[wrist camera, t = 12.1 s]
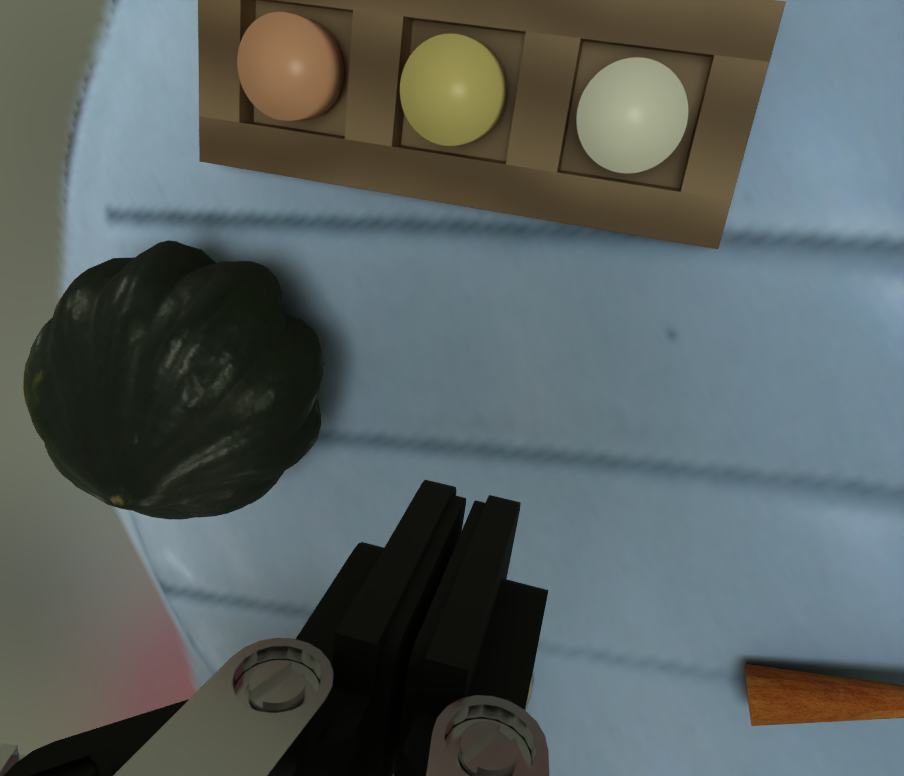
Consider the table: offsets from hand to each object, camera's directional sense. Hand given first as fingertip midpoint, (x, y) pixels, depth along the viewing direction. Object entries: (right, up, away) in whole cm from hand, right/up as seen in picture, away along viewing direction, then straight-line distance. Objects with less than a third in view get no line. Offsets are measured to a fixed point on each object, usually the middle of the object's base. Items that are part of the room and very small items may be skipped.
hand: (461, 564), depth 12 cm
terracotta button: (-8, +18, +23) cm, 30 cm away
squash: (-13, +5, +32) cm, 35 cm away
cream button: (+8, +15, +20) cm, 26 cm away
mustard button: (0, +17, +21) cm, 27 cm away
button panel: (+1, +17, +23) cm, 29 cm away
